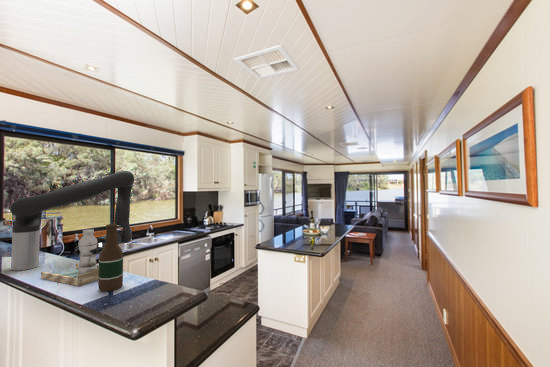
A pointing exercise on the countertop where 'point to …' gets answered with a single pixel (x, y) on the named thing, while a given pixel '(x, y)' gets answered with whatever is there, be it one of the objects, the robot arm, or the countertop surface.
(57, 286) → the countertop surface
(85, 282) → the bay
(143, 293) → the countertop surface
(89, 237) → the plastic bottle
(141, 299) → the countertop surface
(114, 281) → the beer bottle
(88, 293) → the countertop surface
